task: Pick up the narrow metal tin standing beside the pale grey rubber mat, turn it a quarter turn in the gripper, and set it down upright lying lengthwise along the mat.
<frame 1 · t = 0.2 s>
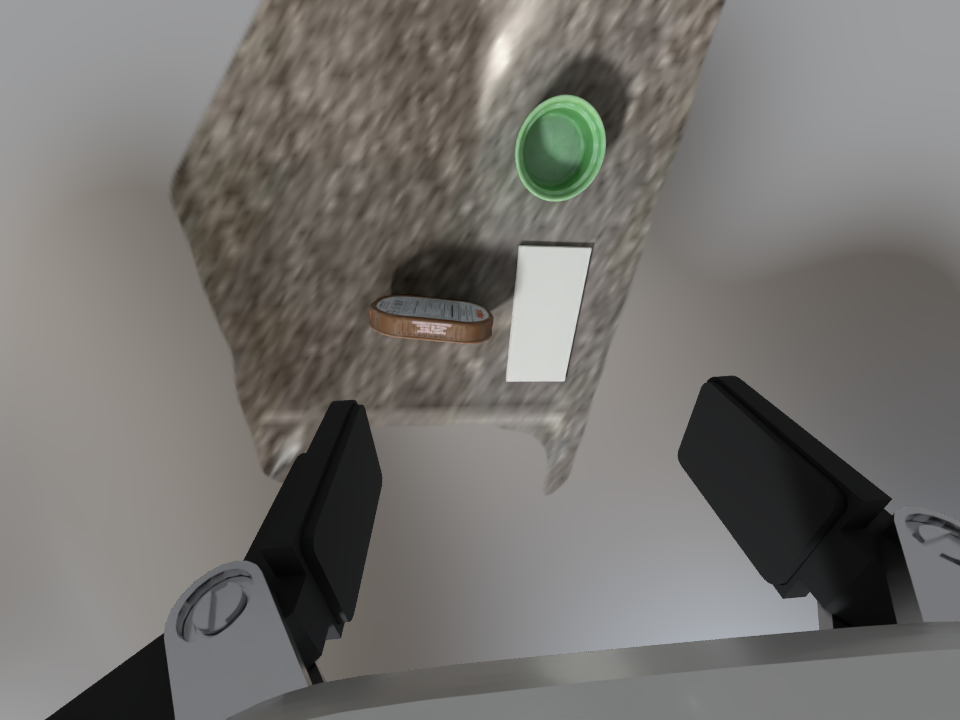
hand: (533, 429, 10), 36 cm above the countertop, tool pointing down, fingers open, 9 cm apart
tin: (434, 303, 46), on the countertop
mat: (543, 319, 48), on the countertop
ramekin: (550, 151, 38), on the countertop
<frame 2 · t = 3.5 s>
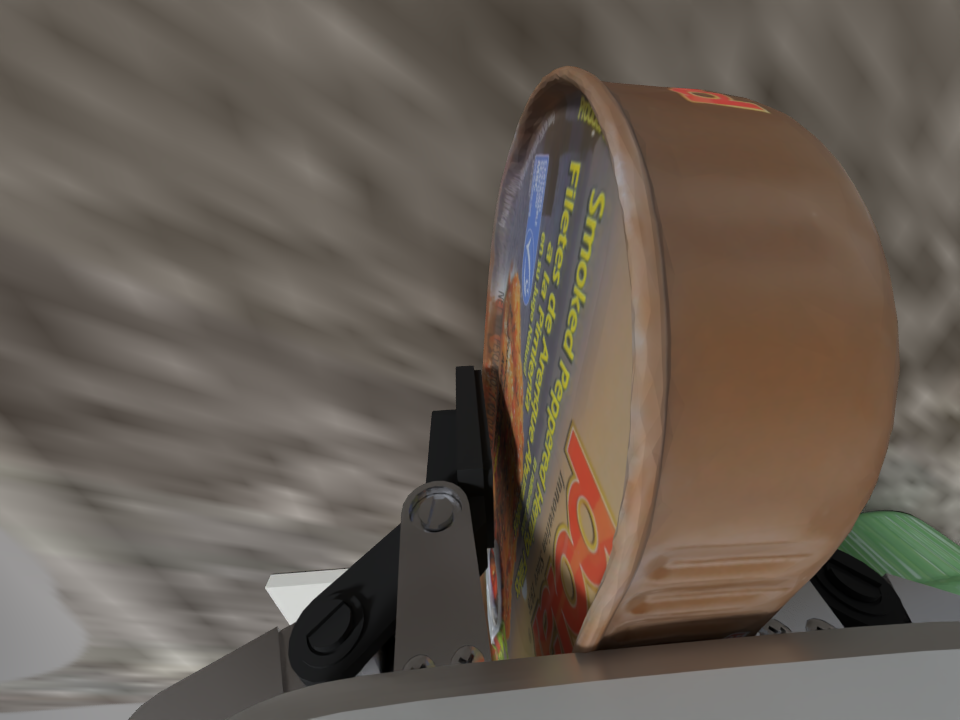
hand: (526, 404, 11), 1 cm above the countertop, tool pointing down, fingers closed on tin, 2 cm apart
tin: (526, 378, 12), on the countertop, touching gripper
mat: (479, 603, 20), on the countertop
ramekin: (832, 549, 20), on the countertop
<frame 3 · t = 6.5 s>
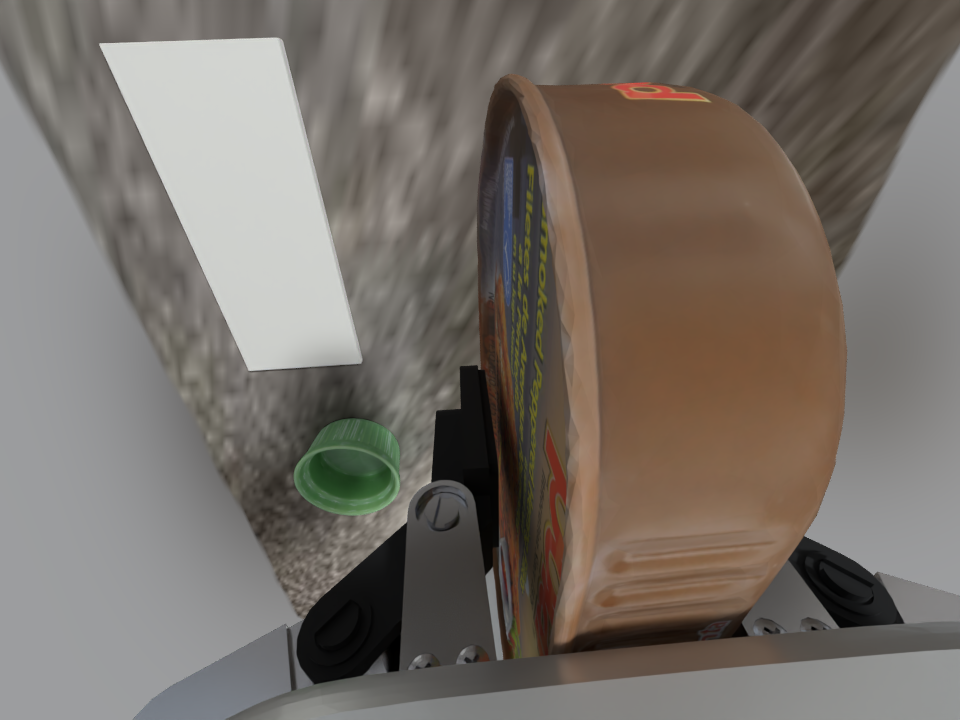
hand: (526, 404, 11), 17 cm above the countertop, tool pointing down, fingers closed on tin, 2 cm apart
tin: (526, 375, 12), point 15 cm above the countertop, touching gripper
mat: (264, 238, 24), on the countertop
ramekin: (359, 445, 34), on the countertop
when the fingers open (3 cm above the countertop, at t = 10.9 s): tin drops 1 cm, resting on mat.
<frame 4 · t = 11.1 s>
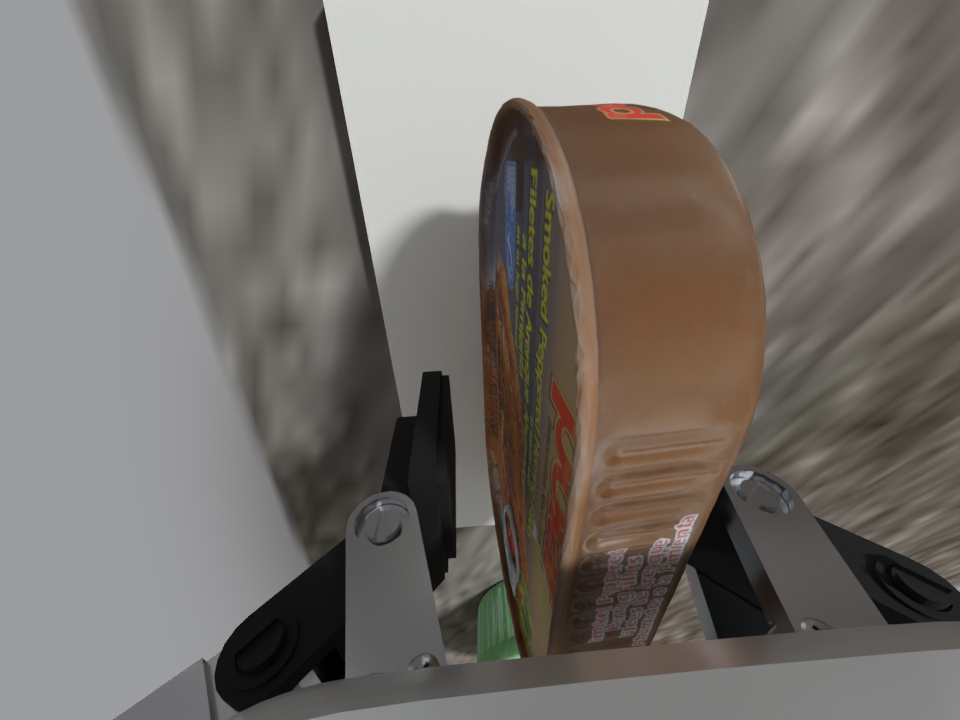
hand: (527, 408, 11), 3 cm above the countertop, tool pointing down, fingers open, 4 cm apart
tin: (522, 358, 13), resting on mat
mat: (511, 351, 14), on the countertop
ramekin: (534, 596, 24), on the countertop
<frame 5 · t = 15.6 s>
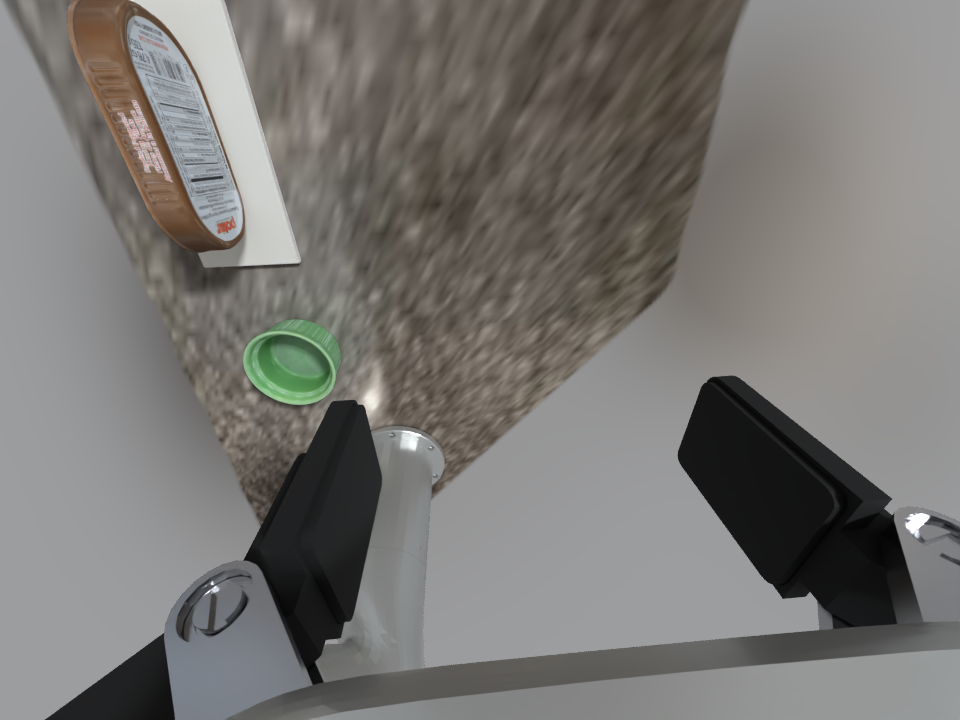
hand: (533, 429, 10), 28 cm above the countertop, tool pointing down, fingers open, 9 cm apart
tin: (213, 145, 29), resting on mat
mat: (211, 144, 29), on the countertop
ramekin: (306, 349, 40), on the countertop
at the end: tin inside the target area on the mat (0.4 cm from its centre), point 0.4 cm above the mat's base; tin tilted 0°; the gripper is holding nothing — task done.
